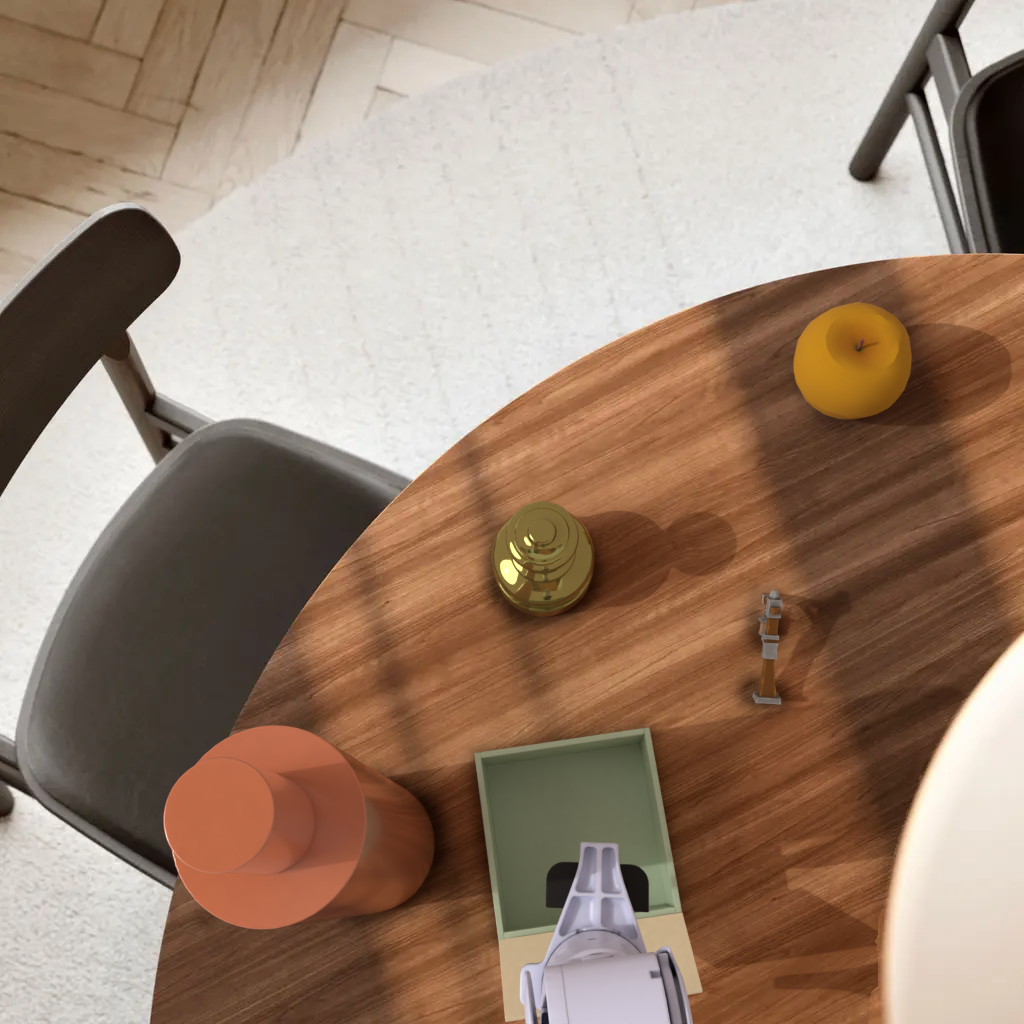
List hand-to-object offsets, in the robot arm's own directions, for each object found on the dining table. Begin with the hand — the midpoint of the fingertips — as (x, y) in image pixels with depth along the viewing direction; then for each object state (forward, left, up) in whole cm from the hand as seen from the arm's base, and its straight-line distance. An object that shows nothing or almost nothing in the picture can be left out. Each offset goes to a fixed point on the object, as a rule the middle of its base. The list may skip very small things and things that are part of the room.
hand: (591, 967), depth 69 cm
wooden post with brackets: (+24, -4, -10) cm, 27 cm away
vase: (+1, +17, -10) cm, 20 cm away
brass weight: (+24, +13, -10) cm, 29 cm away
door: (0, 0, -2) cm, 2 cm away
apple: (+46, -3, -10) cm, 47 cm away
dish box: (+7, +4, -10) cm, 13 cm away
